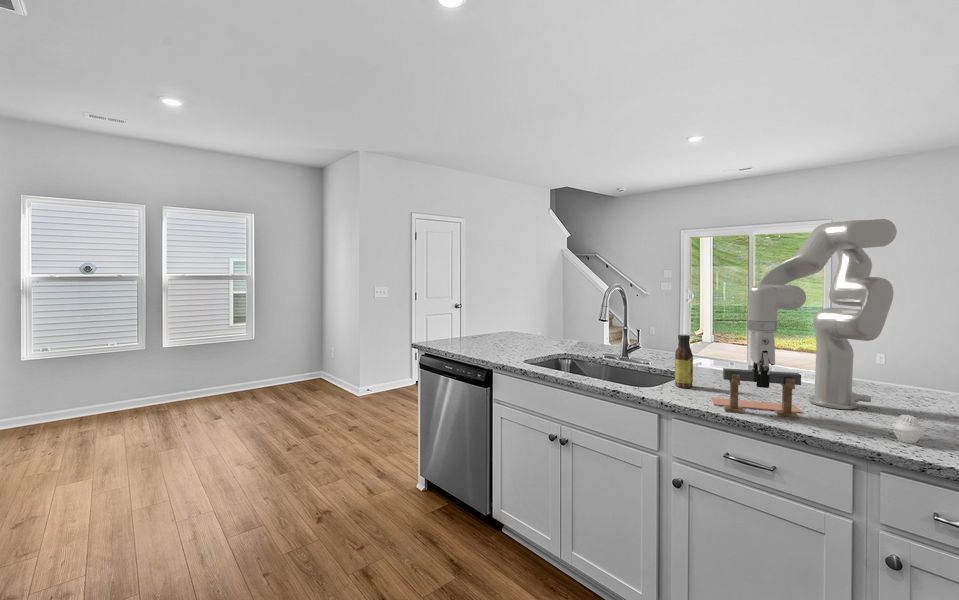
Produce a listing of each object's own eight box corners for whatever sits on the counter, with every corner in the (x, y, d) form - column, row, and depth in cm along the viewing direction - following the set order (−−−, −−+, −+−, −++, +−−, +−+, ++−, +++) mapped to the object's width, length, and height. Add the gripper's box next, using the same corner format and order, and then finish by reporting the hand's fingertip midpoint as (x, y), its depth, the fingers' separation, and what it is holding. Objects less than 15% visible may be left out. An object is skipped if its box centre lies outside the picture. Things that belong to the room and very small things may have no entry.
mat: (794, 406, 143) (794, 404, 143) (802, 413, 136) (802, 412, 135) (711, 398, 152) (711, 397, 152) (714, 405, 144) (714, 404, 144)
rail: (797, 382, 133) (798, 373, 133) (800, 385, 131) (801, 375, 130) (722, 377, 141) (723, 368, 141) (724, 379, 138) (724, 370, 138)
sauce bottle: (694, 389, 165) (695, 336, 164) (676, 388, 166) (677, 335, 165) (690, 384, 171) (691, 333, 170) (672, 384, 173) (673, 333, 171)
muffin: (927, 442, 112) (929, 415, 111) (918, 447, 109) (920, 419, 108) (895, 435, 117) (896, 409, 117) (886, 439, 114) (887, 413, 114)
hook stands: (793, 413, 136) (794, 375, 135) (799, 419, 130) (800, 379, 129) (723, 407, 143) (724, 370, 142) (725, 412, 137) (726, 374, 136)
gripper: (784, 330, 125) (782, 392, 126) (769, 323, 141) (768, 379, 142) (753, 329, 128) (751, 390, 129) (742, 323, 144) (741, 377, 145)
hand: (760, 384), depth 136 cm, fingers open, 6 cm apart
